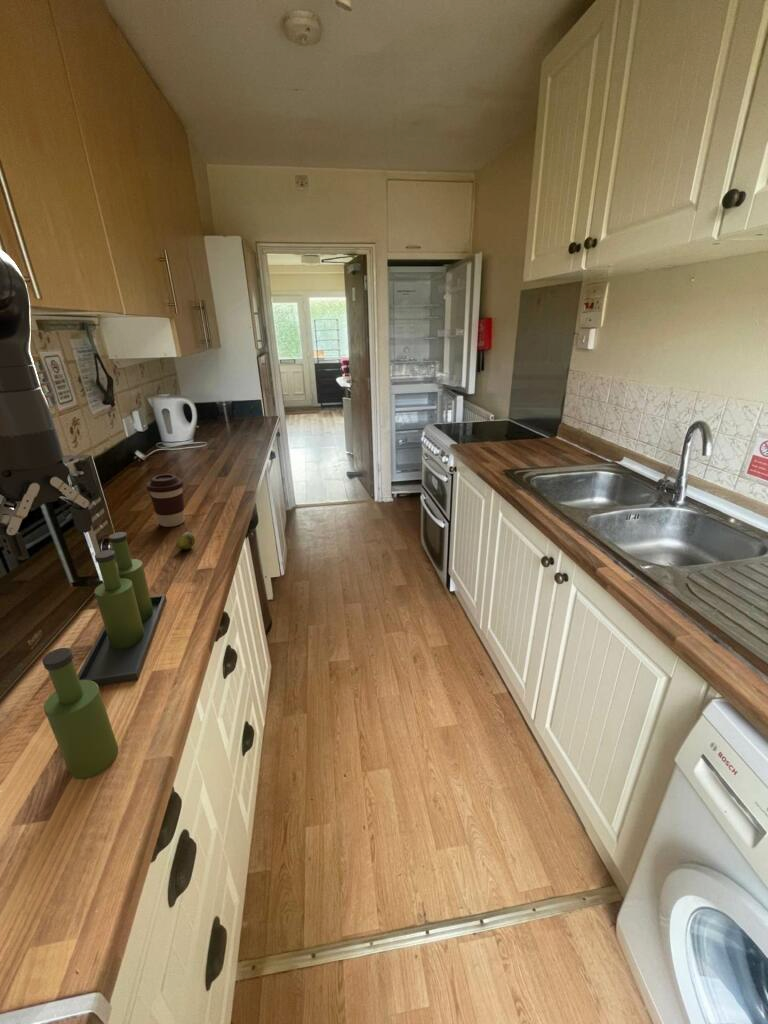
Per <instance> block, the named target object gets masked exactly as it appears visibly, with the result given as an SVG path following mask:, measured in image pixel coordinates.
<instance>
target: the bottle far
mask: <svg viewBox="0 0 768 1024" xmlns="http://www.w3.org/2000/svg"><path fill="white" fill-rule="evenodd" d="M108 540H109V543H111V547H112V550H113V551H114V553H115V562H116V566H117V569H118V573H119V577H120V578H125V579H129V580H131V581H132V585H133V589H134V593H135V597H136V601H137V605H138V609H139V613H140V617H141V621H142V622H143V621H145V620H147V619H148V618H150V617H151V616H152V614H153V612H154V611H153V606H152V602H151V598H150V596H151V595H150V590H149V586H148V582H147V581H148V580H147V577H146V573H145V569H144V564H143V562H142V560H140V559H137V558H136V559H135V558H132V555H131V552H130V548H129V544H128V534H127V532H125V531H118V532H114V533H113V532H112V533H110V535H109V536H108Z"/></svg>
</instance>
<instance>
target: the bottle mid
mask: <svg viewBox="0 0 768 1024" xmlns="http://www.w3.org/2000/svg"><path fill="white" fill-rule="evenodd" d="M94 559H95V562H96V563H97V565H98V569H99V572H100V576H101V579H102V583H100V584H98V585H97V586H96V587H95V589H94V596H95V599H96V602H97V606H98V609H99V612H100V615H101V618H102V621H103V622H102V623H103V627H104V626H105V629H106V633H107V636H108V640H109V643H110V646H111V647H113V648H115V649H124V648H128V647H131V646H134V645H136V644H137V643H139V642H140V641H141V640H142V639H143V638H144V635H145V632H144V628H143V624H142V621H141V617H140V613H139V609H138V605H137V601H136V597H135V593H134V589H133V585H132V581H131V580H129V579H125V578H120V577H119V573H118V569H117V566H116V563H117V562H116V559H115V553H114V551H113V549H105V550H101V551H99V552H96V553H95V554H94Z"/></svg>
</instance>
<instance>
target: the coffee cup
mask: <svg viewBox="0 0 768 1024" xmlns="http://www.w3.org/2000/svg"><path fill="white" fill-rule="evenodd" d="M183 487H184V480H183V479H182V478H180V477H178V476H177V475H175V474H173V473H163V474H158V475H155V476H153V477H151V479H150V481H148V482H146V490H147V491H148V492H150V499H151V502H152V505H153V509H154V513H155V514H156V517H157V519H158V523H159V525H160V526H161V527H165V528H172V527H177V526H179V525H180V526H181V525H182V524H184V522H185V521H186V518H185V501H184V491H183Z"/></svg>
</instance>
